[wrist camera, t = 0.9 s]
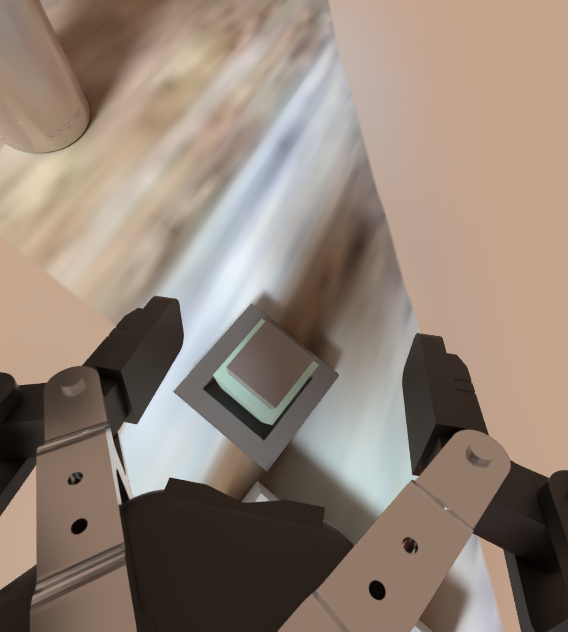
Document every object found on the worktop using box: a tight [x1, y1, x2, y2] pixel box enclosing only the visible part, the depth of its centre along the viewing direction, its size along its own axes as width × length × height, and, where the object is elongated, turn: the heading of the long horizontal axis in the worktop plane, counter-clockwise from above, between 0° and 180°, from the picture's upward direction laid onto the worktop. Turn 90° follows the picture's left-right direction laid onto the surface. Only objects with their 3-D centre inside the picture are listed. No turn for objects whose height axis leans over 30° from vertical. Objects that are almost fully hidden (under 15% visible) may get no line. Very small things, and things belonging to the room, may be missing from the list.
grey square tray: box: [173, 304, 339, 471], centre depth 32 cm, size 10×10×3 cm
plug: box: [213, 319, 318, 425], centre depth 26 cm, size 4×4×14 cm
